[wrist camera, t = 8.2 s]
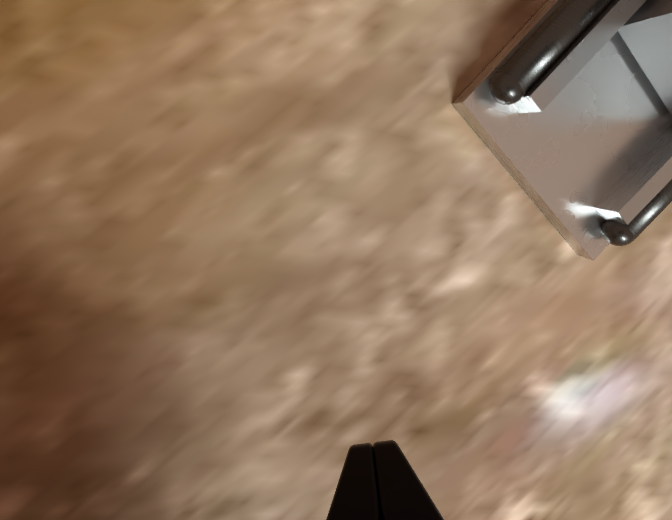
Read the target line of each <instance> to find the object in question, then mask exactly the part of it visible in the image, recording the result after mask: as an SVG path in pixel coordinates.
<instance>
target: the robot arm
mask: <svg viewBox="0 0 672 520" xmlns="http://www.w3.org/2000/svg"><path fill="white" fill-rule="evenodd" d="M373 450H374V451H373ZM326 520H444V519H443V517H442V516H441V514H440V513H439V511H438V509H437V508H436V506H435V504H434V503H433V501H432V500H431V498H430V496H429V495H428V493H427V491H426V490H425V488H424V487H423V485H422V483H421V482H420V480H419V478H418V477H417V475H416V474H415V472H414V470H413V469H412V467H411V465H410V464H409V462H408V461H407V459H406V457H405V456H404V454H403V452H402V451H401V449H400V448H399V446H398V444H397V443H396V442H395V441H393V440H389V441H381V442H375V443H374V445H373V446H372V444H370V443H365V444H357V445H352V446H351V447H350V449H349V451H348V454H347V457H346V460H345V463H344V466H343V469H342V473H341V476H340V479H339V482H338V485H337V488H336V491H335V494H334V498H333V501H332V504H331V507H330V510H329V513H328V516H327V519H326Z"/></svg>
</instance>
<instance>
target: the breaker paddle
mask: <svg viewBox="0 0 672 520" xmlns="http://www.w3.org/2000/svg"><path fill="white" fill-rule="evenodd" d="M618 32H619V34H620V35H621V37H622V39H623V40H624V42H625V43H626V45H627V46H628V48H629V50H630V51H631V53H632V54H633V56H634V57H635V59H636V61H637V62H638V64H639V65H640V67H641V68H642V70H643V72H644V73H645V75H646V76H647V78H648V79H649V81H650V82H651V84H652V86H653V87H654V89H655V90H656V92H657V93H658V95H659V97H660V98H661V100H662V101H663V103H664V104H665V106H666V108H667V109H668V111H669V112H670V114H671V115H672V0H646V1H645V2H644V4H643V5H642V6H641V7H640V8H639V9H638V10H637V11H636V12H635V13H634V14H633V15H632V16H631V17H630V18H629V20H628V21H627V22H626V23H625V24H624V25H623V26H622V27H621V28H620V29H619V30H618Z"/></svg>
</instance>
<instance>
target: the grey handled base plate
mask: <svg viewBox="0 0 672 520" xmlns="http://www.w3.org/2000/svg"><path fill="white" fill-rule="evenodd" d="M645 1H646V0H548V1H547V2H546V3H545V4H544V5H543V6H542V7H541V8H540V9H539V10H538V12H537V13H536V14H535V15H534V16H533V17H532V18H531V19H530V20H529V21H528V22H527V23H526V25H525V26H524V27H523V28H522V29H521V30H520V31H519V32H518V33H517V34H516V35H515V36H514V37H513V39H512V40H511V41H510V42H509V43H508V44H507V45H506V46H505V47H504V48H503V49H502V50H501V51H500V53H499V54H498V55H497V56H496V57H495V58H494V59H493V60H492V61H491V62H490V63H489V64H488V65H487V67H486V68H485V69H484V70H483V71H482V72H481V73H480V74H479V75H478V76H477V77H476V78H475V79H474V81H473V82H472V83H471V84H470V85H469V86H468V87H467V88H466V89H465V90H464V91H463V92H462V94H461V95H460V96H459V97H458V98H457V99H456V100H455V101H454V102H453V103H452V105H453V106H454V107H455V108H456V110H457V111H458V112H459V113H460V114H461V116H462V117H463V118H464V119H465V120H466V121H467V123H468V124H469V125H470V126H471V127H472V129H473V130H474V131H475V132H476V133H477V135H478V136H479V137H480V138H481V139H482V141H483V142H484V143H485V144H486V145H487V147H488V148H489V149H490V150H491V151H492V153H493V154H494V155H495V156H496V157H497V159H498V160H499V161H500V162H501V163H502V164H503V166H504V167H505V168H506V169H507V170H508V172H509V173H510V174H511V175H512V176H513V178H514V179H515V180H516V181H517V182H518V184H519V185H520V186H521V187H522V188H523V190H524V191H525V192H526V193H527V194H528V196H529V197H530V198H531V199H532V200H533V202H534V203H535V204H536V205H537V206H538V208H539V209H540V210H541V211H542V212H543V213H544V215H545V216H546V217H547V218H548V219H549V221H550V222H551V223H552V224H553V225H554V227H555V228H556V229H557V230H558V231H559V233H560V234H561V235H562V236H563V237H564V239H565V240H566V241H567V242H568V243H569V245H570V246H571V247H572V248H573V249H574V251H575V252H576V253H577V254H578V255H579V256H582V257H585V258H588V259H590V260H594V259H595V258H596V257H597V256H598V255H599V254H600V253H601V252H602V251H603V250H604V249H605V248H606V247H607V246H608V245H609V244H612V245H616V246H624V245H627V244H629V243H631V242H632V241H634V240H635V239H636V238H637V237H638V236H639V234H640V233H641V232H642V231H643V230H644V229H645V228H646V227H647V226H648V225H649V224H650V223H651V222H652V221H653V220H654V219H655V218H656V217H657V216H658V215H659V214H660V213H661V212H662V211H663V210H664V209H665V208H666V207H667V206H668V205H669V204H670V202H671V201H672V115H671V114H670V112H669V111H668V109H667V108H666V106H665V104H664V103H663V101H662V100H661V98H660V97H659V95H658V93H657V92H656V90H655V89H654V87H653V86H652V84H651V82H650V81H649V79H648V78H647V76H646V75H645V73H644V72H643V70H642V68H641V67H640V65H639V64H638V62H637V61H636V59H635V57H634V56H633V54H632V53H631V51H630V50H629V48H628V46H627V45H626V43H625V42H624V40H623V39H622V37H621V35H620V34H619V32H618V30H619V29H620V28H621V27H622V26H623V25H624V24H625V23H626V22H627V21H628V20H629V18H630V17H631V16H632V15H633V14H634V13H635V12H636V11H637V10H638V9H639V8H640V7H641V6H642V5H643V4H644V2H645Z"/></svg>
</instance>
